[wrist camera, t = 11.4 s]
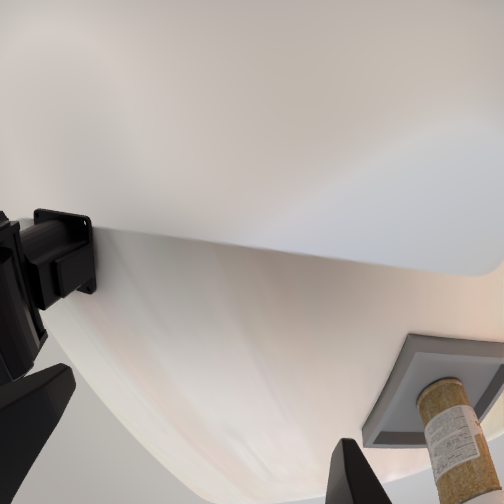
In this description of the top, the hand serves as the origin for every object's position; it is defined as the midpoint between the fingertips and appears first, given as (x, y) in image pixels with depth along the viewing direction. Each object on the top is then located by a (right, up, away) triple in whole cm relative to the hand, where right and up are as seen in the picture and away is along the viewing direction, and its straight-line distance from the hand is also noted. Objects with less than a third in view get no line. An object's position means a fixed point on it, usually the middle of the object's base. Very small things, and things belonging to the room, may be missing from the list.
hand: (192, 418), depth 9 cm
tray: (+18, -7, +13) cm, 23 cm away
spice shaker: (+17, -7, +13) cm, 23 cm away
